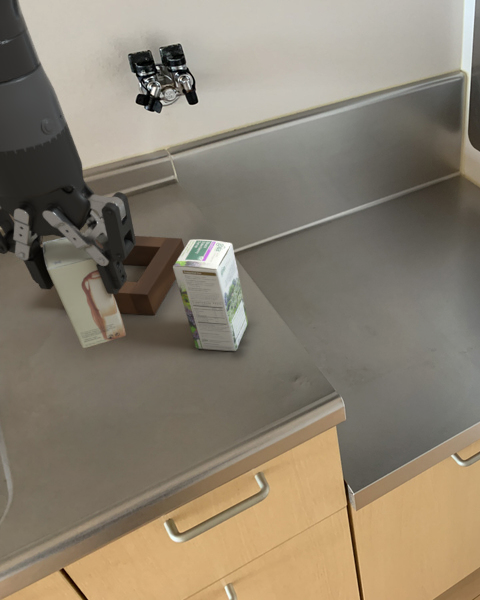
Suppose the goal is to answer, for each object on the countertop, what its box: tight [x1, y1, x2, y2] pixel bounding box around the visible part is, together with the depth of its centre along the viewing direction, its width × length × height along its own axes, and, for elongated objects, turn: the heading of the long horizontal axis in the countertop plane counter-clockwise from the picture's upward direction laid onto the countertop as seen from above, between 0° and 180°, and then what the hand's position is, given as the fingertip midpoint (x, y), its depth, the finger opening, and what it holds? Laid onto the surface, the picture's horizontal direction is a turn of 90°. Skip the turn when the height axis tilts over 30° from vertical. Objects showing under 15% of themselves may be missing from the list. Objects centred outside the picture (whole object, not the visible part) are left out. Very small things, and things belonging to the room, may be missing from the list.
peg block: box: [54, 235, 185, 316], centre depth 92 cm, size 14×14×4 cm
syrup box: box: [173, 239, 249, 352], centre depth 80 cm, size 6×6×14 cm
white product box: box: [42, 232, 127, 349], centre depth 60 cm, size 5×4×10 cm
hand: (83, 285), depth 60 cm, fingers closed on white product box, 6 cm apart
